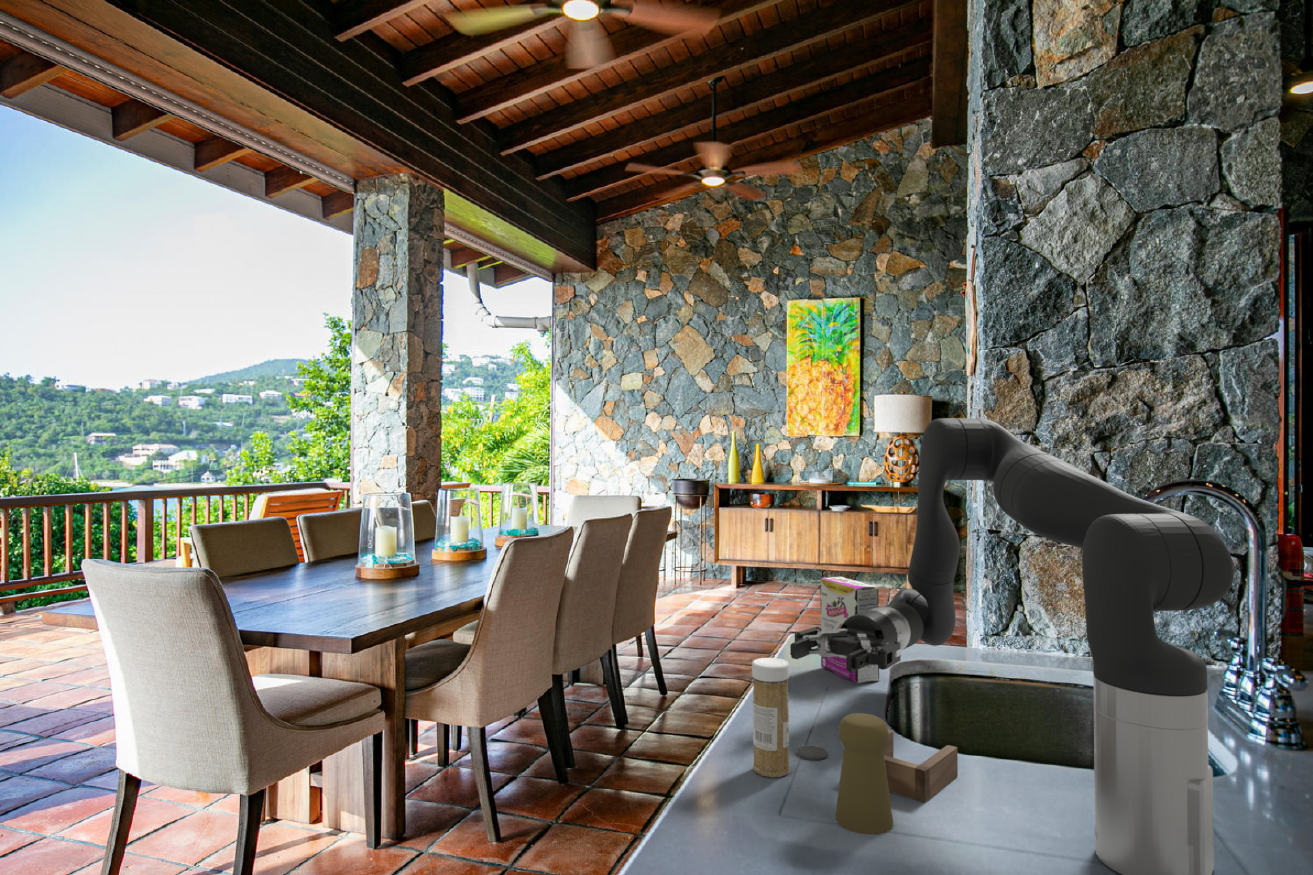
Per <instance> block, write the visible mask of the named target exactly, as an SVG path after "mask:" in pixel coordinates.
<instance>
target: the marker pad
mask: <svg viewBox="0 0 1313 875" xmlns="http://www.w3.org/2000/svg"><path fill="white" fill-rule="evenodd" d="M795 752H796V756H797V757H798V758H801V759H804V760H806V761H807V760H808V761H822V760H826V759H827V758H828V757H829V752H828V750H827V748H824V747H821V746H818V745H810V744H809V745H808V744H807V745H806V744H805V745H801V746H798V747H797V748H796V751H795Z"/></svg>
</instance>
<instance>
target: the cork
mask: <svg viewBox="0 0 1313 875" xmlns="http://www.w3.org/2000/svg"><path fill="white" fill-rule="evenodd" d="M888 730H889V728H888V725H887V724H886V722H885V721H884V720H883V719H882V718H881V717H879V716H876V715H874V714H870V713H863V712H861V713H860V712H858V713H850V714H848V715H846V716H843V718H842V719H841V720H840V722H839V726H838V737H839V741H840V743H841V745H842V746H843V752H842V762H841V769H840V774H839V775H840V776H839V784H838V793H837V799H836V800H837V802H836V806H835V807H836V808H835V815H834V817H835V818H834V819H835V822H836V823H837V824H838V825H839V826H840V827H842V828H843V829H845V830H847V831H850V832H851V833H852V832H853V833H855V834H861V835H869V836H872V835H882V834H885V833H888V832H889V831H891V830H892V829H893V828H894V826H895V825H894V816H893V809H892V804H891V798H890V797H891V796H890V791H889V787H888V780H887V773H886V766H885V758H884V751H883V750H884V749H885V748H886V746H887V745H888V741H889V732H888Z"/></svg>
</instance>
